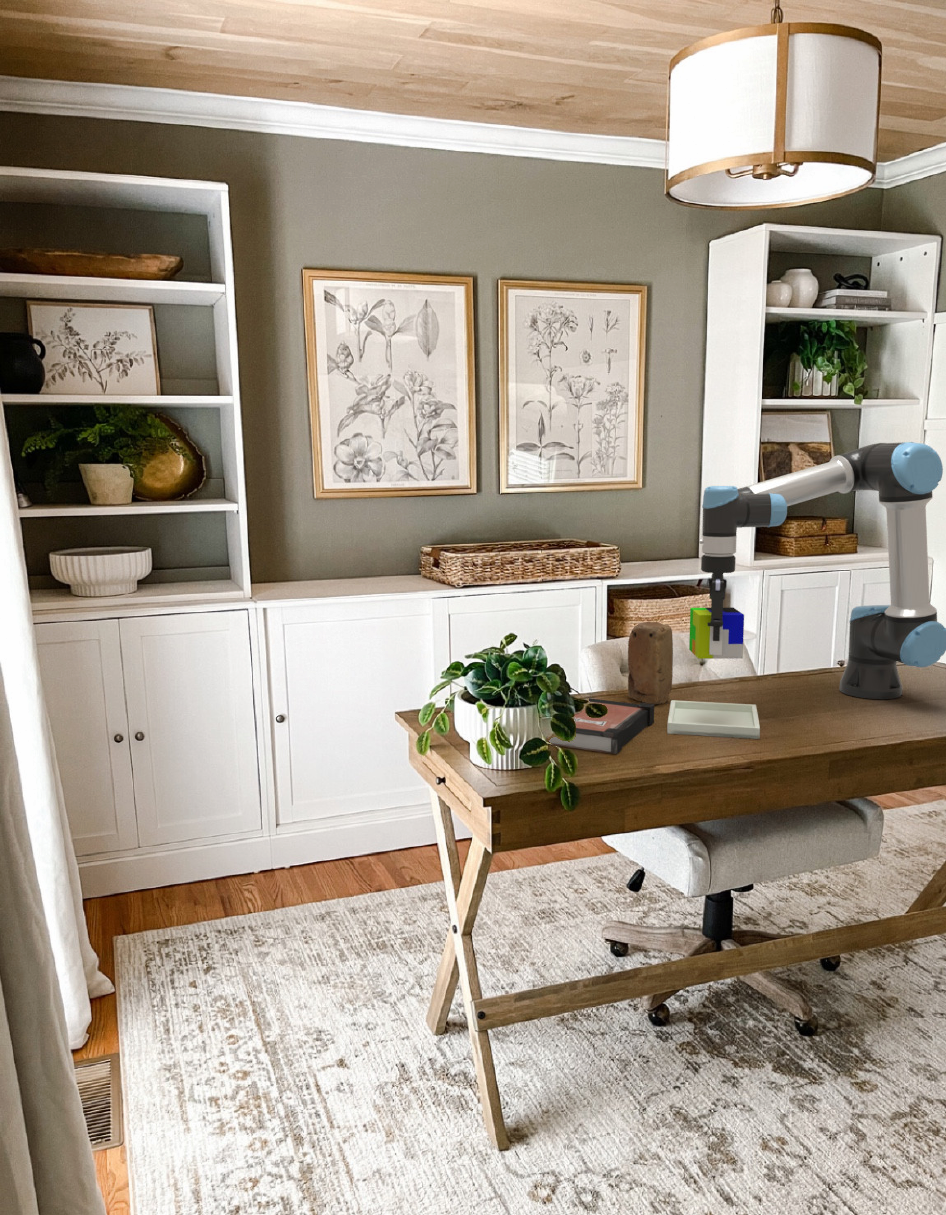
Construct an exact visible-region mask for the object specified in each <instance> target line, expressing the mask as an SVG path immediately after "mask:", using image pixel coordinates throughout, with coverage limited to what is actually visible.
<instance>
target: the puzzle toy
mask: <svg viewBox="0 0 946 1215" xmlns="http://www.w3.org/2000/svg"><path fill="white" fill-rule="evenodd" d="M710 622H711V607H690V608H689V640H688V641H689V646H688V648H689V649H688V650H689V651H690V652H691V653H692V654H693V655H694V656H695V658H697V659H698V660H704V659H709V660H711V659H714V660H715V659H718V660H719V659H723V660H725V659H729V660H730V659H734V660H735V659H738V660H739V659H744V656H743V655H744V631H745V629H744V628H745V627H744V626H745V614H744V613H742V612H741V611H739V610H738V609H736V608H735V607H730V606H729V607H723V625H722V626H723V633H722V655H709V650H710V626H708V623H710Z"/></svg>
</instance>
